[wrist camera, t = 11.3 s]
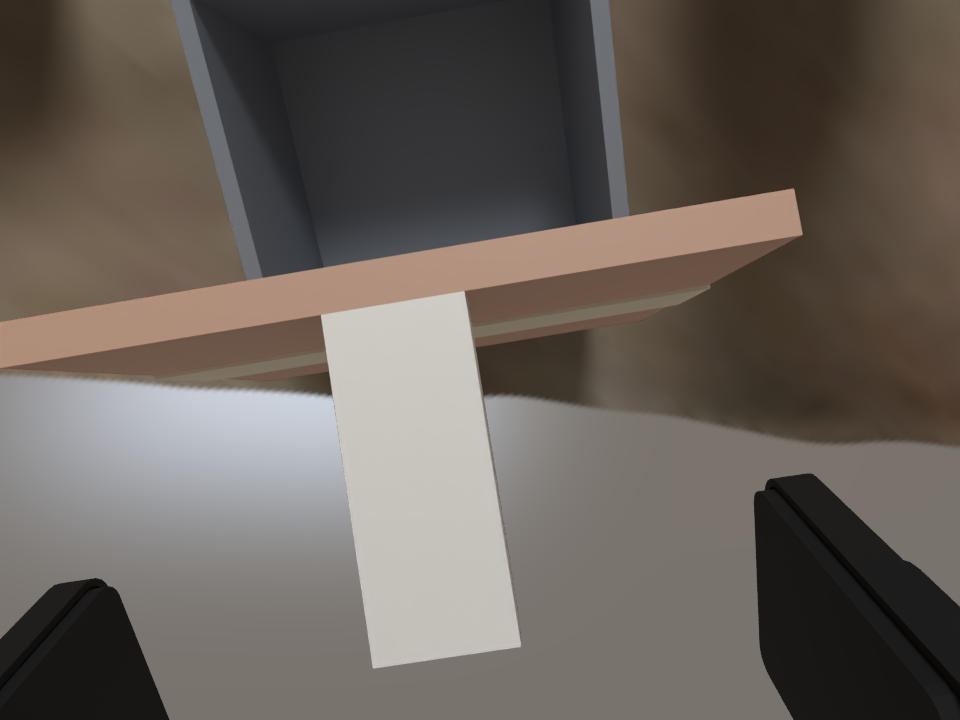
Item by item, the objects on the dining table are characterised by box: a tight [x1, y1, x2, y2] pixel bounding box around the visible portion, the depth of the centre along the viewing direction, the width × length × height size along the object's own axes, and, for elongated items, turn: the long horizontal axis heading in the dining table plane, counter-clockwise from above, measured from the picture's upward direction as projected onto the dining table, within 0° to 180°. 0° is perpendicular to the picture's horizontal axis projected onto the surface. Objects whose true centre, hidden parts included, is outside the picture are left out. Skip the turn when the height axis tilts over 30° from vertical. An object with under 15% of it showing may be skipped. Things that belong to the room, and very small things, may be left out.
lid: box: [0, 188, 803, 668], centre depth 17 cm, size 14×13×7 cm
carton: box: [170, 0, 629, 281], centre depth 27 cm, size 14×13×10 cm
